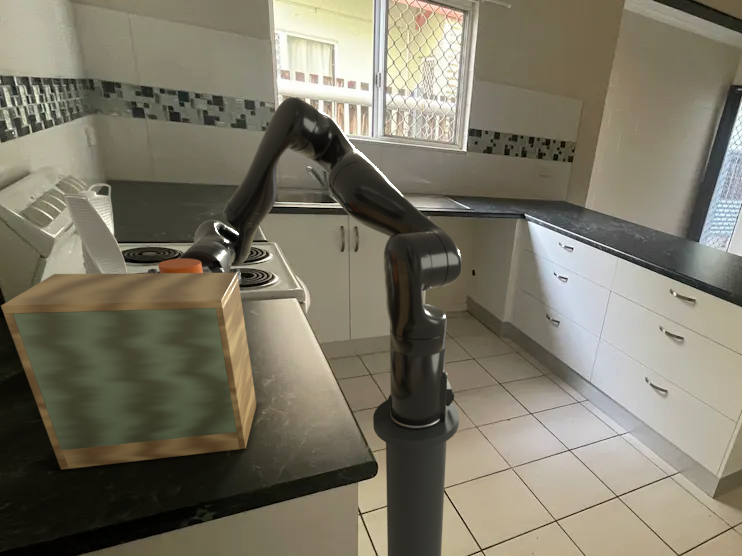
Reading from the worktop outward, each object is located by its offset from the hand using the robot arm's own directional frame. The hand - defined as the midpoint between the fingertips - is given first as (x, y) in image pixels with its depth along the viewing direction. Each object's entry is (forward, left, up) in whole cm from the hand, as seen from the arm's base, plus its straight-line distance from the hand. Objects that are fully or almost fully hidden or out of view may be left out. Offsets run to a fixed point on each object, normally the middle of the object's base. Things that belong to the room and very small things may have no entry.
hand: (181, 295), depth 74 cm
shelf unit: (+2, +11, -18) cm, 21 cm away
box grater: (+25, -41, -18) cm, 51 cm away
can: (0, -3, -6) cm, 7 cm away
